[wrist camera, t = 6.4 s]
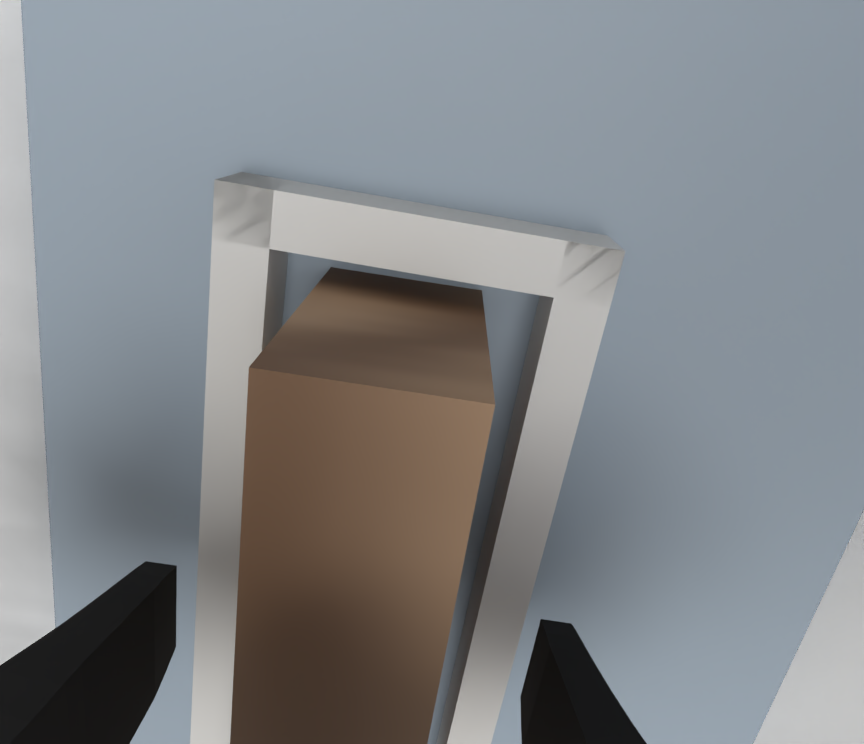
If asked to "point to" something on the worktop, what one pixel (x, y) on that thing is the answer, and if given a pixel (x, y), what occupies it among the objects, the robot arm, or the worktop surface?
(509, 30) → the wall board
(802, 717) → the worktop surface
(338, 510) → the wooden block
